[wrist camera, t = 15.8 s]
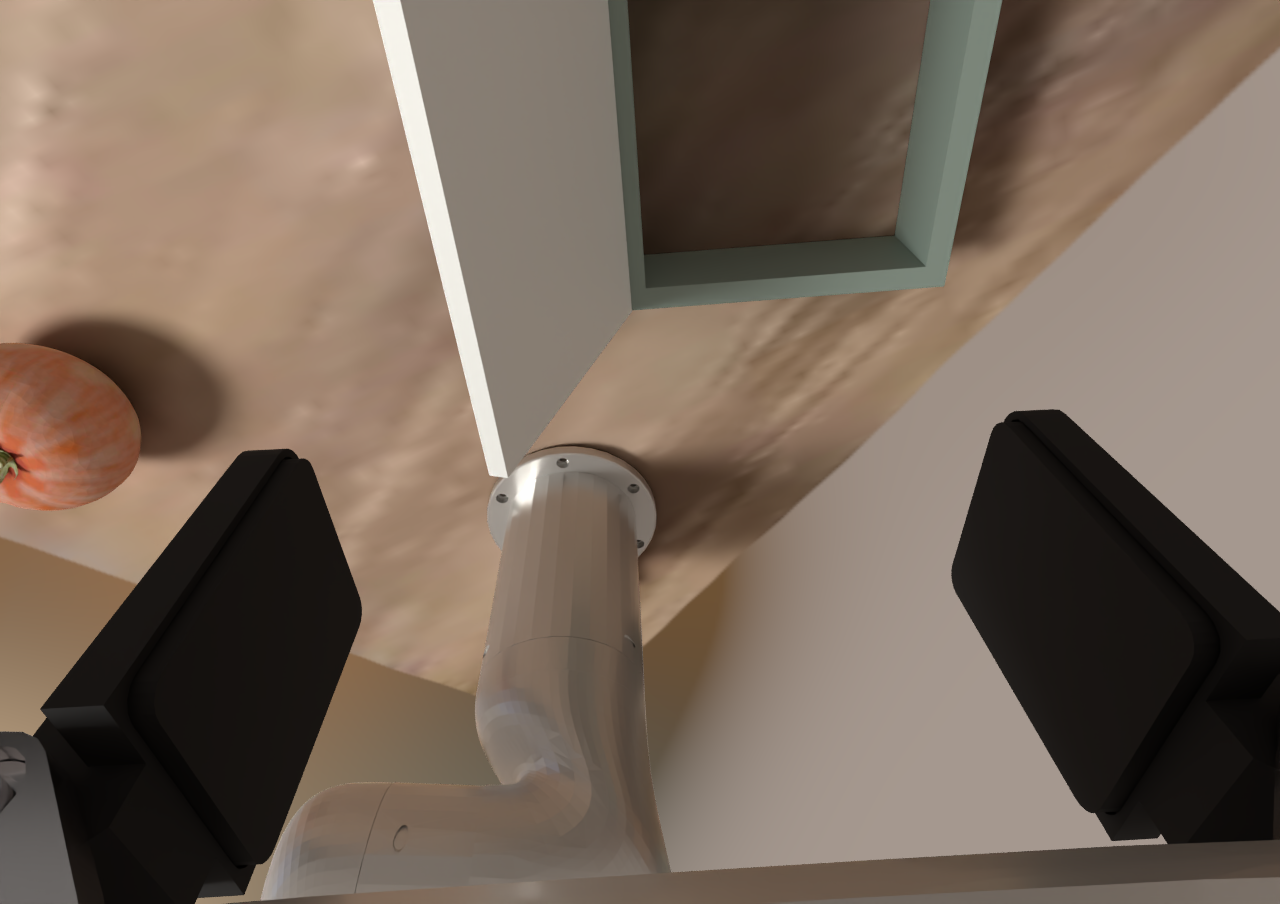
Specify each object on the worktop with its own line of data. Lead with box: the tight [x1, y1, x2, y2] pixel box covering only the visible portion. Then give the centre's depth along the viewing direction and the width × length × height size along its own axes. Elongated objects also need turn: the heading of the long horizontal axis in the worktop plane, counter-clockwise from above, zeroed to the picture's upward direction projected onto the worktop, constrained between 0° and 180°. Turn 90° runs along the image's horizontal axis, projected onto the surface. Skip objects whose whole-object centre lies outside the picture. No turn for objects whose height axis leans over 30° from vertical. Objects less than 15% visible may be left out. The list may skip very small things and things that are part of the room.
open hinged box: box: [373, 0, 1002, 478], centre depth 29 cm, size 17×23×19 cm
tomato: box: [0, 343, 141, 510], centre depth 42 cm, size 11×11×8 cm
